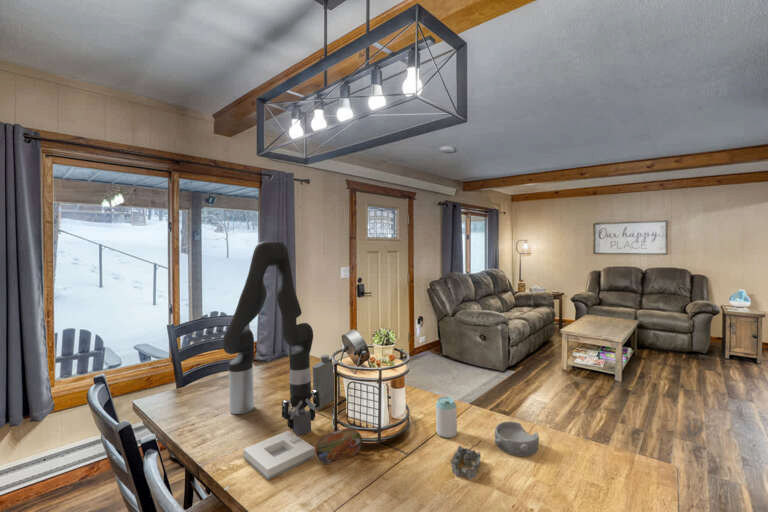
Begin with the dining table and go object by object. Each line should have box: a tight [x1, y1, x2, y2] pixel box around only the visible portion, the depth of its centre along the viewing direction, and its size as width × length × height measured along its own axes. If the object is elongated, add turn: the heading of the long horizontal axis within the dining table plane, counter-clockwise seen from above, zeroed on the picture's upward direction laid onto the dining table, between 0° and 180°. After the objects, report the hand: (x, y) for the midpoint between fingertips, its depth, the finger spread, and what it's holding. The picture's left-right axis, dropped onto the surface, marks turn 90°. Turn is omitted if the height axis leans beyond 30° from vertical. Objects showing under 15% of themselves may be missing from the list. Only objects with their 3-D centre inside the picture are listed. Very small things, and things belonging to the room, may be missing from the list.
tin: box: [314, 427, 363, 465], centre depth 118 cm, size 15×3×8 cm, turn 117°
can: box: [435, 396, 458, 439], centre depth 131 cm, size 7×7×12 cm
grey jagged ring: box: [450, 445, 482, 480], centre depth 111 cm, size 11×8×4 cm
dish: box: [494, 421, 540, 457], centre depth 122 cm, size 14×14×5 cm
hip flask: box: [312, 354, 341, 411], centre depth 160 cm, size 16×4×20 cm, turn 150°
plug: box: [292, 407, 312, 437], centre depth 135 cm, size 5×5×9 cm
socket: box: [242, 430, 316, 481], centre depth 119 cm, size 16×16×4 cm
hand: (301, 424), depth 135 cm, fingers open, 8 cm apart
